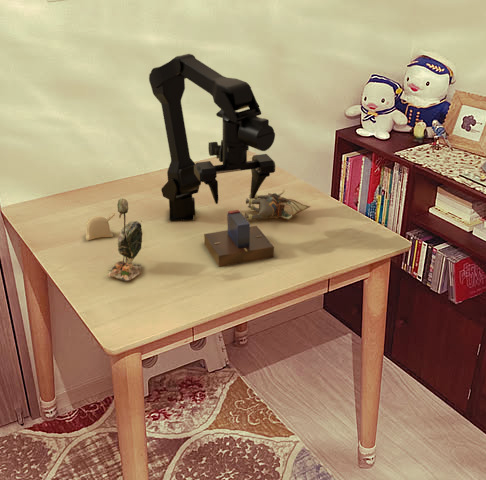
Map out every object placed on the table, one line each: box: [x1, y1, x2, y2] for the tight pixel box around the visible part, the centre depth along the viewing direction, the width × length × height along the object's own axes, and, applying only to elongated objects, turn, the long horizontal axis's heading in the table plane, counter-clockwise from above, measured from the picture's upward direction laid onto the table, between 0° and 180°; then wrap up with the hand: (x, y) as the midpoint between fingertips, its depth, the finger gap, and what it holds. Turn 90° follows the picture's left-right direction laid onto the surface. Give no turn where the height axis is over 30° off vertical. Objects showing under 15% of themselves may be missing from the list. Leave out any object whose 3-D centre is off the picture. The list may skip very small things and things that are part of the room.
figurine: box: [244, 188, 311, 221], centre depth 192 cm, size 20×6×17 cm
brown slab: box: [203, 225, 275, 267], centre depth 177 cm, size 14×12×3 cm
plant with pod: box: [106, 198, 143, 282], centre depth 165 cm, size 8×11×20 cm
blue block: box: [226, 209, 251, 248], centre depth 174 cm, size 8×3×6 cm, turn 17°
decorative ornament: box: [85, 213, 116, 241], centre depth 185 cm, size 4×8×5 cm, turn 106°
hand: (234, 200), depth 175 cm, fingers open, 9 cm apart
